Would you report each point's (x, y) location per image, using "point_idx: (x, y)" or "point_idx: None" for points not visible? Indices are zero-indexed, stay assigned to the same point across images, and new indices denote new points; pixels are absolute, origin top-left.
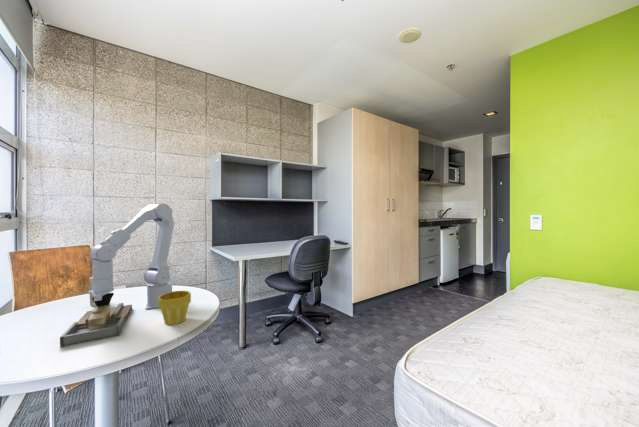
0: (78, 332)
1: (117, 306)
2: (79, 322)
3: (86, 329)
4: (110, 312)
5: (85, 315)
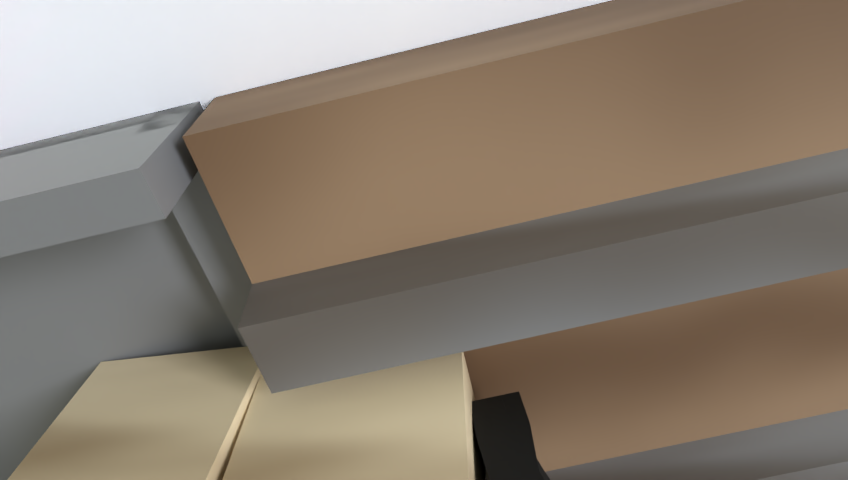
0: (48, 255)
1: (813, 473)
2: (313, 156)
3: (161, 304)
4: (676, 401)
5: (769, 39)
